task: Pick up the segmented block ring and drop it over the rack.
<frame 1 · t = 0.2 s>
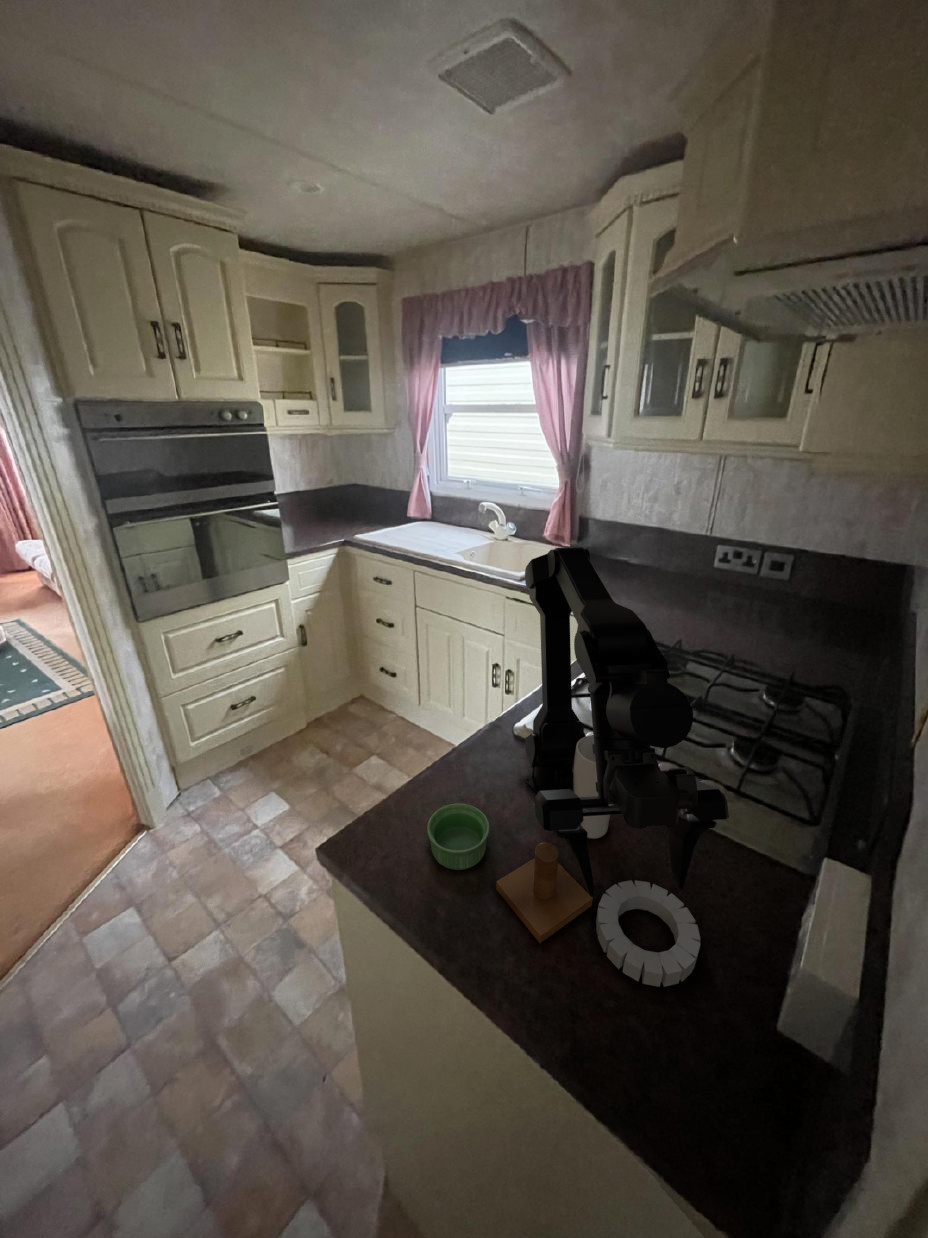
hand: (635, 891, 53), 15 cm above the worktop, tool tilted 30°, fingers open, 9 cm apart
segmented block ring: (645, 935, 64), on the worktop
ramekin: (458, 849, 76), on the worktop
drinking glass: (589, 827, 79), on the worktop
rack: (543, 897, 69), on the worktop
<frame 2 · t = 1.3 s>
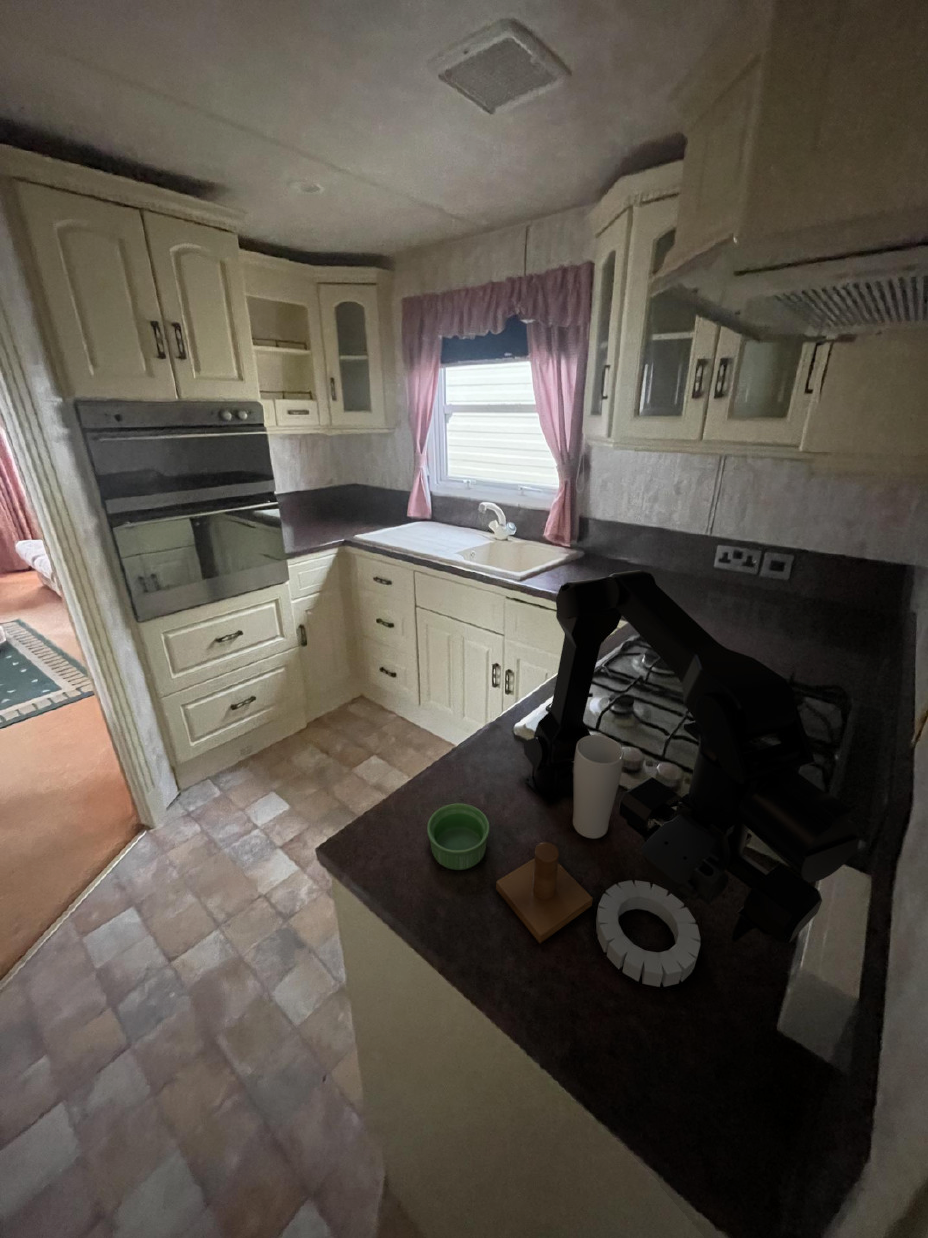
hand: (694, 904, 55), 11 cm above the worktop, tool pointing down, fingers open, 9 cm apart
nothing on the worktop moved.
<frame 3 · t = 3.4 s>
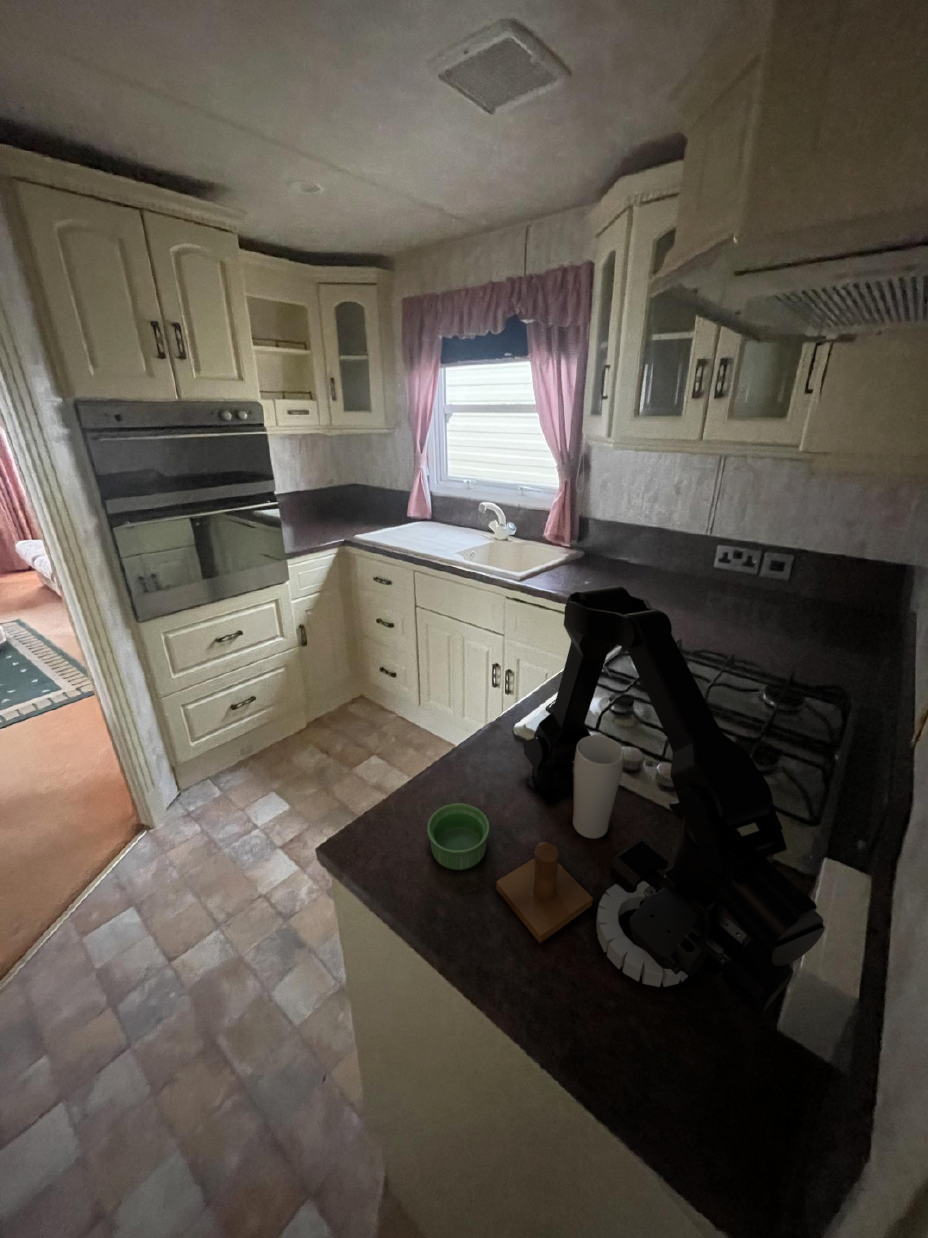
hand: (679, 962, 60), 1 cm above the worktop, tool pointing down, fingers closed on segmented block ring, 2 cm apart
segmented block ring: (645, 935, 64), on the worktop, touching gripper
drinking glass: (589, 827, 79), on the worktop, touching arm
everything else where it was.
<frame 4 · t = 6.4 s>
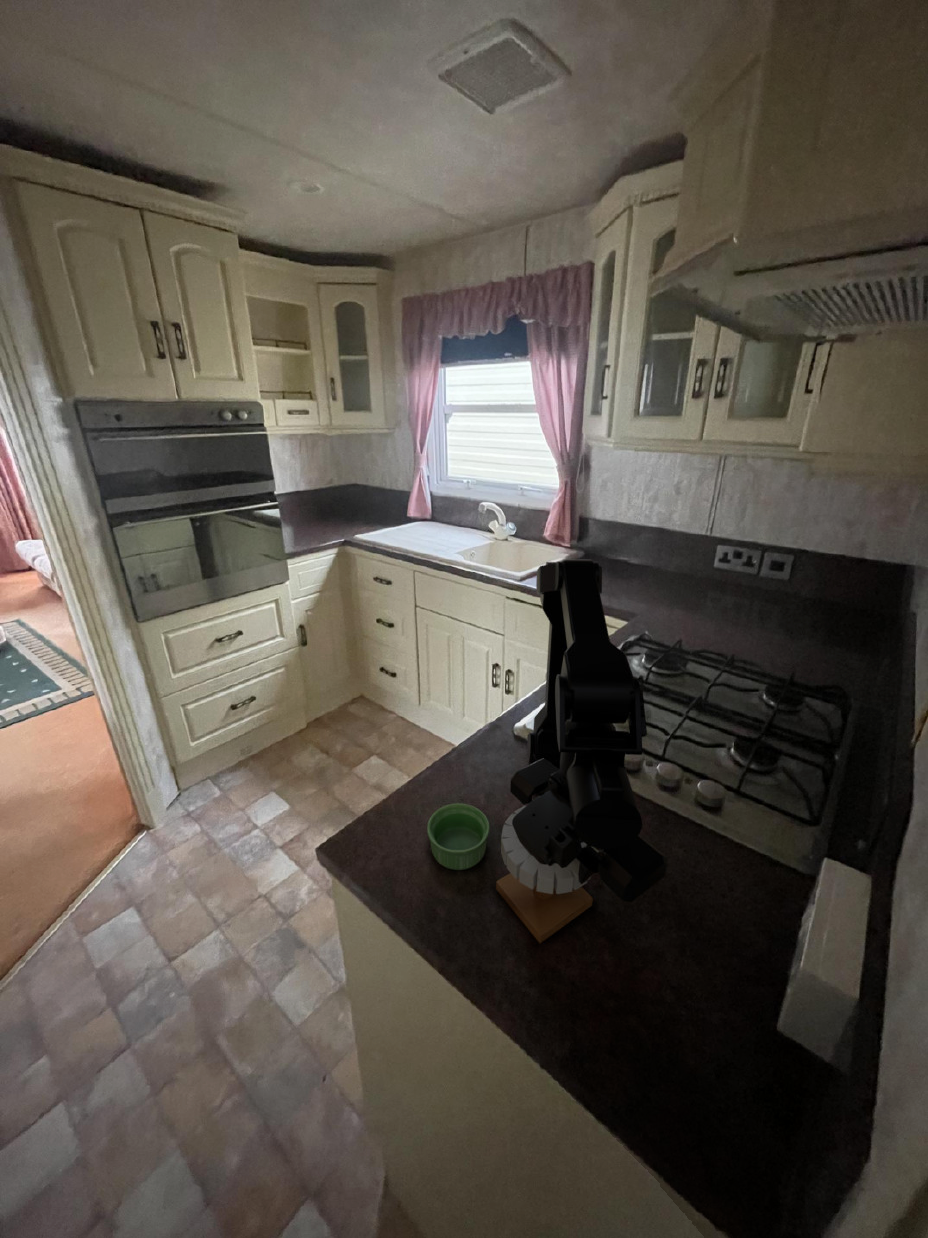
hand: (574, 872, 61), 9 cm above the worktop, tool pointing down, fingers closed on segmented block ring, 2 cm apart
segmented block ring: (548, 851, 65), point 8 cm above the worktop, touching gripper
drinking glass: (589, 827, 79), on the worktop
everything else where it was.
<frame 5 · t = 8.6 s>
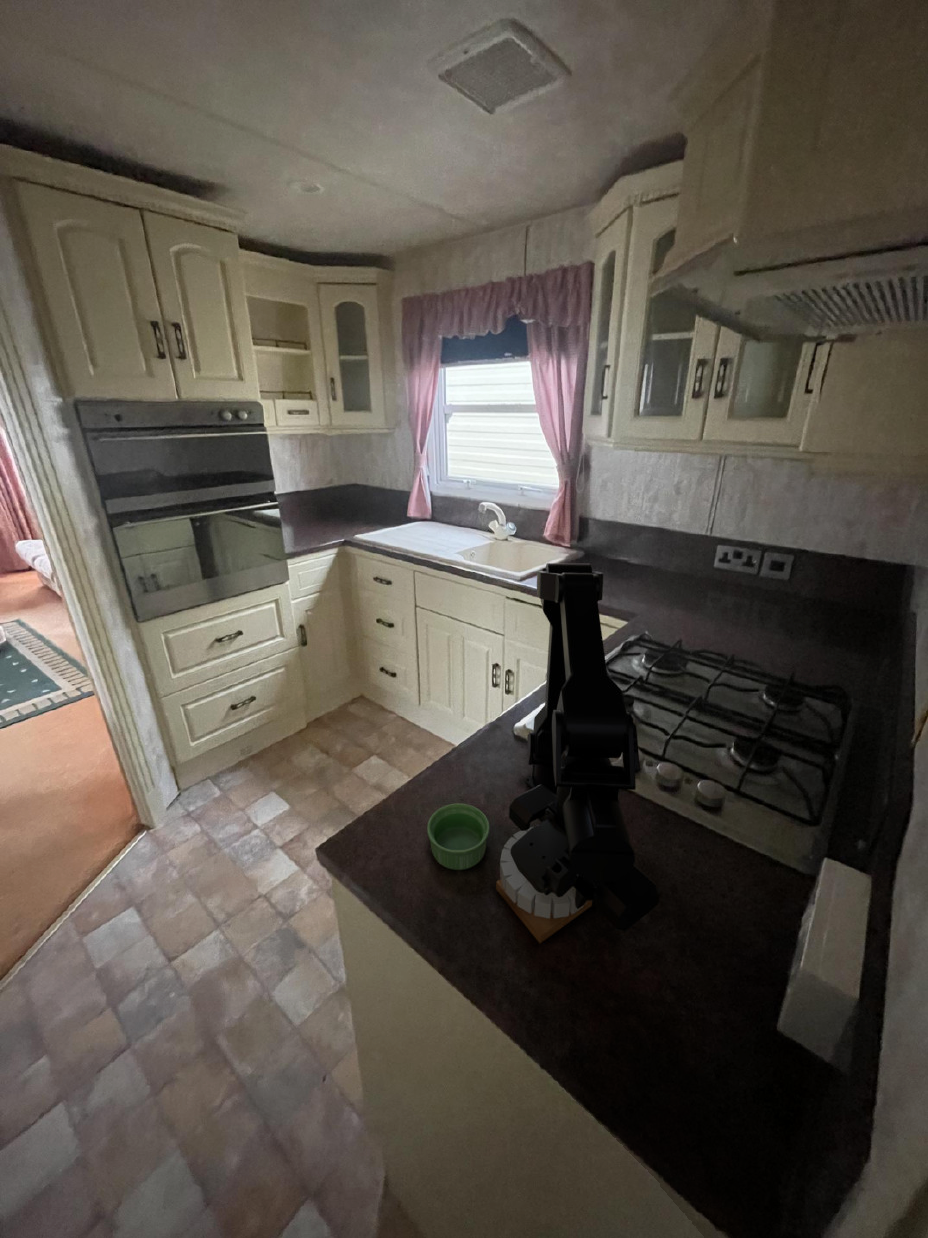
hand: (571, 897, 63), 5 cm above the worktop, tool pointing down, fingers closed on segmented block ring, 2 cm apart
segmented block ring: (545, 875, 67), point 4 cm above the worktop, touching gripper
everything else where it was.
when the fingers open (5 cm above the worktop, at t = 9.8 s): segmented block ring drops 3 cm, resting on rack.
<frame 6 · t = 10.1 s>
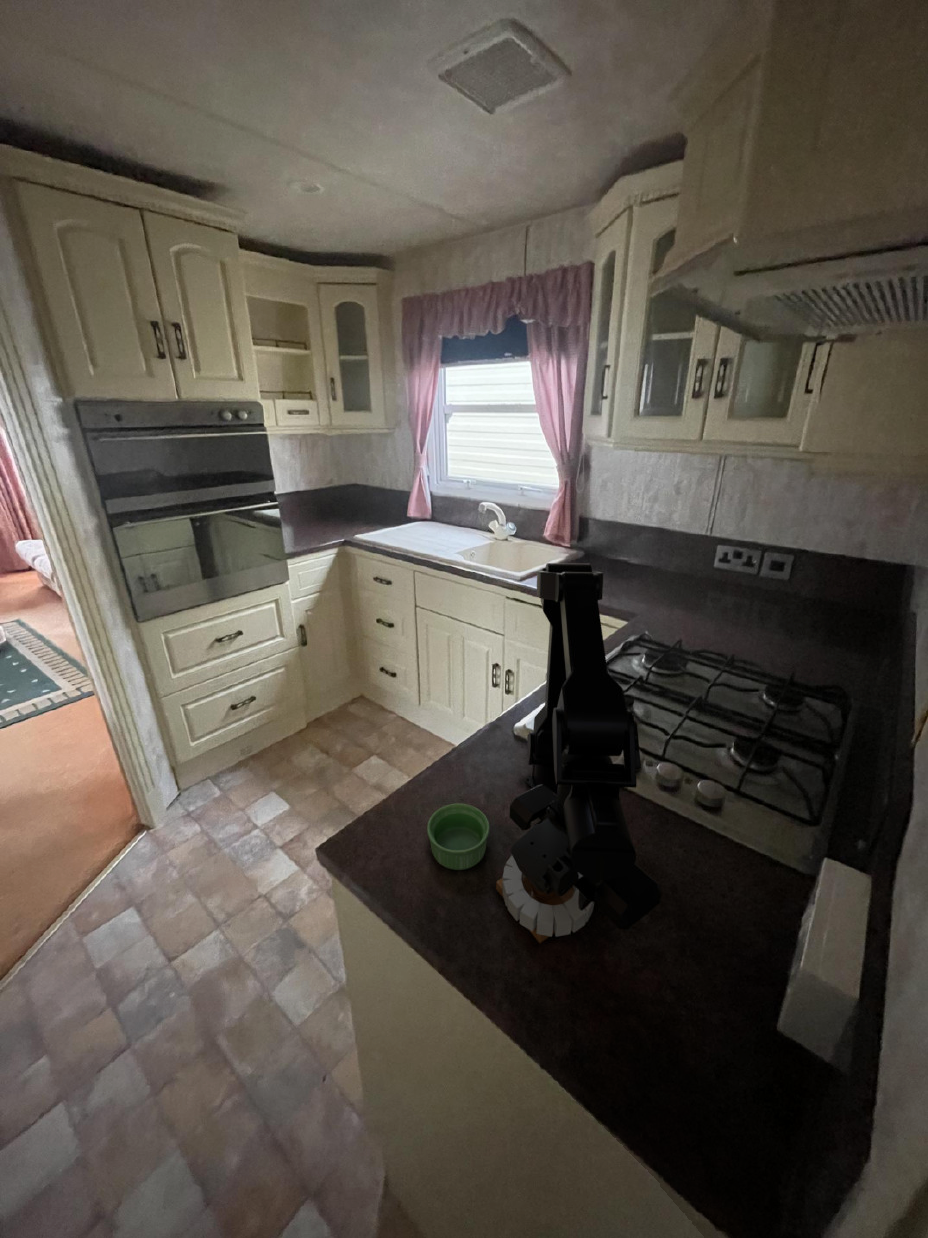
hand: (572, 897, 62), 5 cm above the worktop, tool pointing down, fingers open, 3 cm apart
segmented block ring: (547, 892, 68), point 1 cm above the worktop, touching rack
everything else where it was.
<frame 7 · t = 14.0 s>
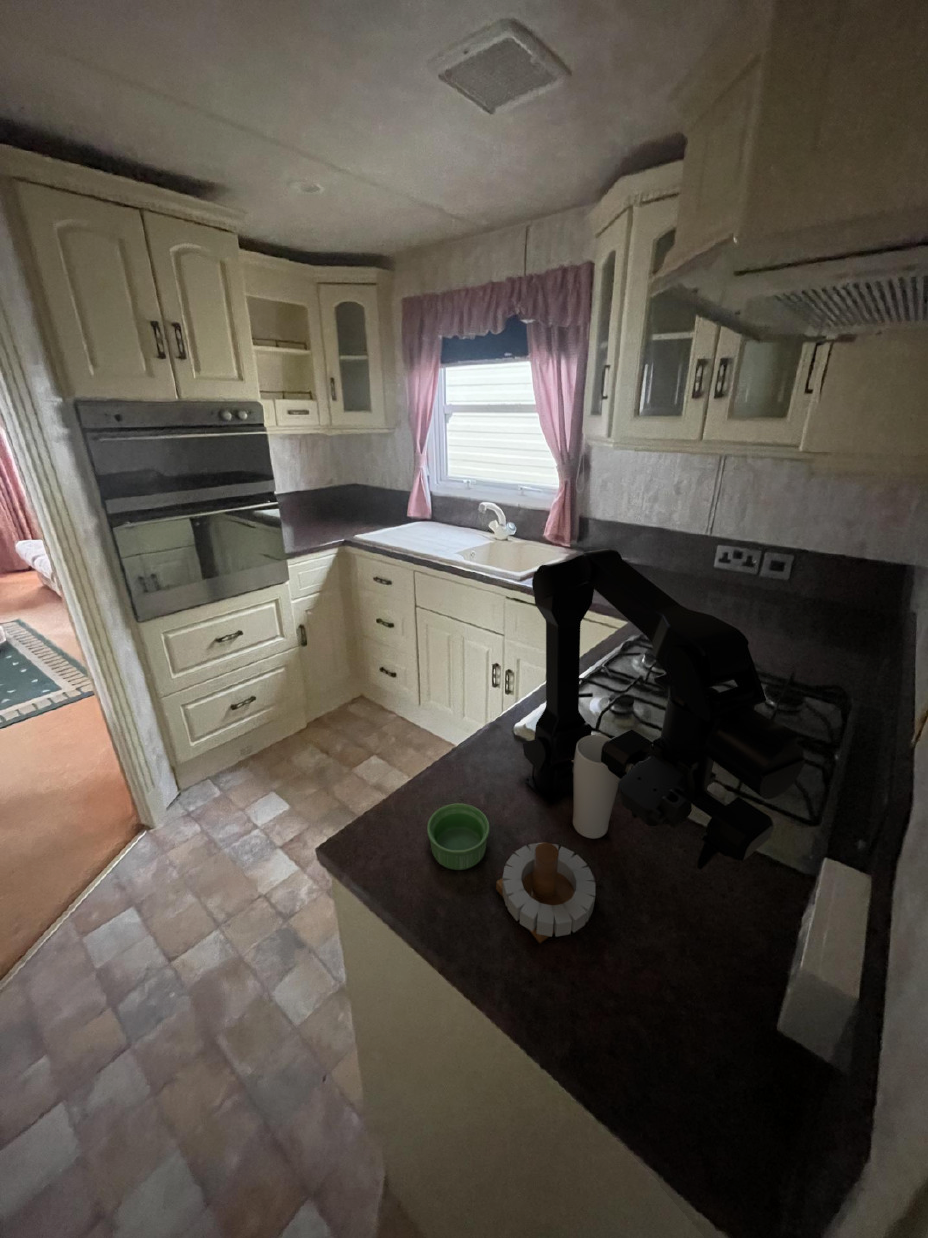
hand: (666, 840, 62), 12 cm above the worktop, tool pointing down, fingers open, 9 cm apart
nothing on the worktop moved.
at the end: segmented block ring 0.6 cm off-centre on the rack, point 1.5 cm above the rack's base; the gripper is holding nothing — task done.
